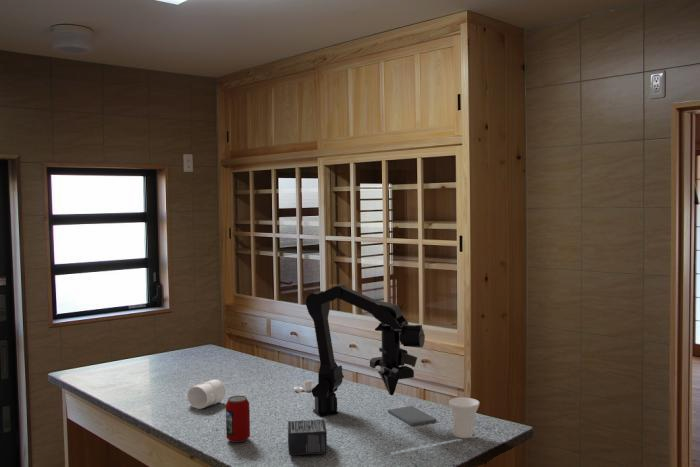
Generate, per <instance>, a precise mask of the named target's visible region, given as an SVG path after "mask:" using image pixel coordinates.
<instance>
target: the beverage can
mask: <svg viewBox="0 0 700 467" xmlns="http://www.w3.org/2000/svg"><path fill="white" fill-rule="evenodd" d="M250 417H251V415H250V402H249V400H248V398H247V396H246V395H233V396H229V397H228V398H227V401H226V403H225V423H226V424H225V427H226V428H225V431H226V439H227V440H229V441H230V442H233V443H242V442H245V441H247V440H248V439H249V438H250V436H251V420H250V419H251V418H250Z"/></svg>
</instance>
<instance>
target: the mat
mask: <svg viewBox="0 0 700 467" xmlns="http://www.w3.org/2000/svg"><path fill="white" fill-rule="evenodd" d="M387 413H388V414H389V415H391V416H393V417H395V418H397V419H399V420H401V421H402V422H403V423H405V424H406V425H408V426H410V427H414V426H419V425H424V424H425V425H426V424H429V423H430V424H431V423H436V422H437V418H435V417H434V416H432V415H430V414H427V413H425V412H424V411H423V410H421V409H419V408H417V407H415V406H412V405H408V406H404V407H397V408H391V409H387Z"/></svg>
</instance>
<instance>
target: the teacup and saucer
mask: <svg viewBox="0 0 700 467" xmlns="http://www.w3.org/2000/svg"><path fill="white" fill-rule="evenodd" d="M313 383H314V385H313ZM315 386H316V382H315V381H313V380H311V379H304V380H303V387H301V386H294V387H293V391H294V392H297V393H298V394H303V395H308V394H309V395H310V394H311V395H313V394H312V389H313V388H314V387H315Z"/></svg>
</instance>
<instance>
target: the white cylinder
mask: <svg viewBox="0 0 700 467" xmlns="http://www.w3.org/2000/svg"><path fill="white" fill-rule="evenodd" d="M224 385H225V384H223V382H222V381H221V380H219V379H211V380H208V381H205V382H201V383H198V384H195V385H193V386H192V387H189V389H188V391H187V400H188V402H189V404H190V406H192V407H193V408H195V409H198V410H201V409H204V408H207V407H209V406H214V405H216V404H218V403H221V402H223V401H224V400H225V397H226V388H225V386H224Z"/></svg>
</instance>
